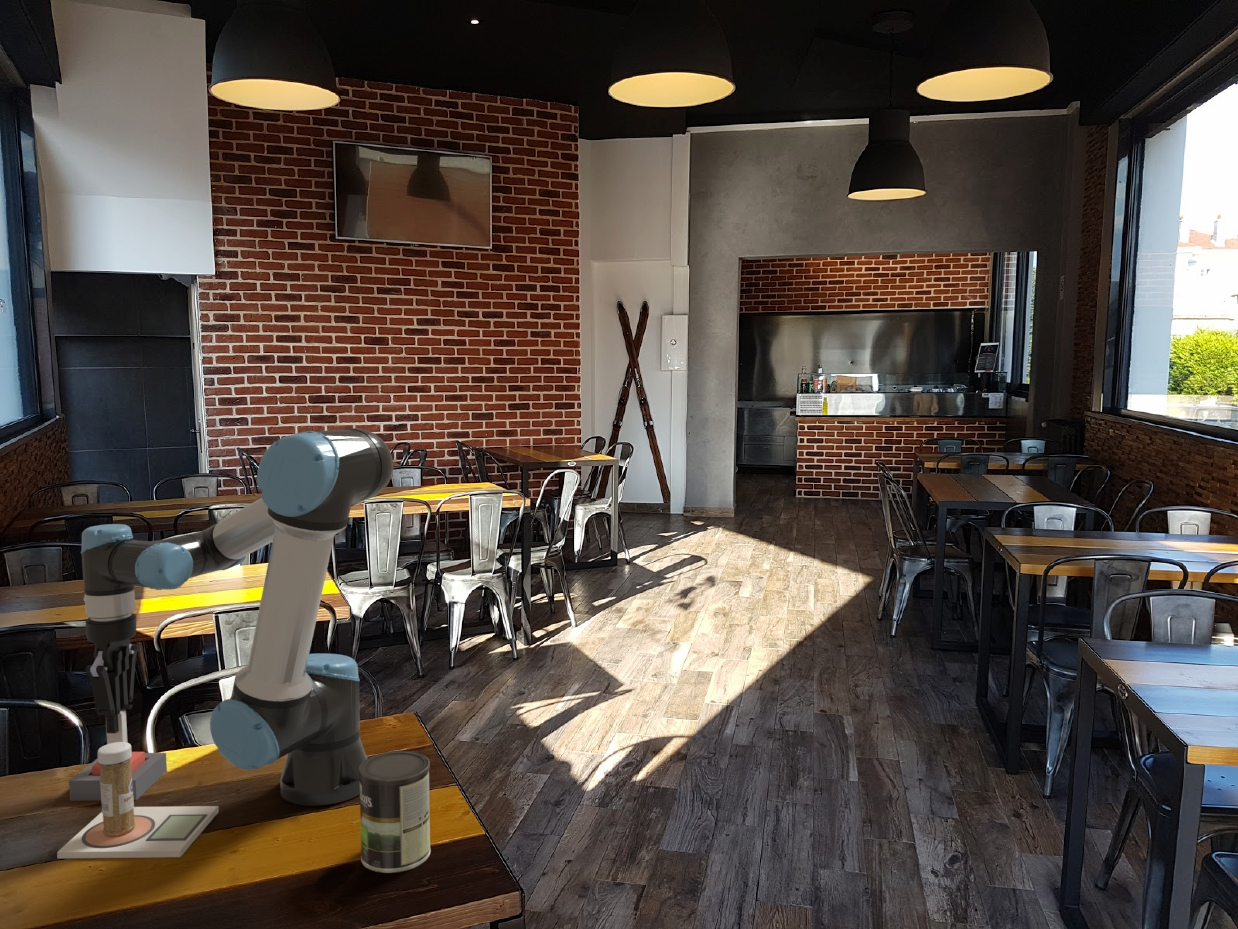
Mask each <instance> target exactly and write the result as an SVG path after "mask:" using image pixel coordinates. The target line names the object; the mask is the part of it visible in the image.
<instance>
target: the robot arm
mask: <svg viewBox="0 0 1238 929" xmlns="http://www.w3.org/2000/svg"><path fill="white" fill-rule="evenodd" d="M393 472H394V460H393V456H392V453H391V450H390V448H389V447H388V445H387V443H386V442H385V441H384V440H383V439H382V438H381V436H380V437H379V435H377V434H376V433H374V432H372V431H370V430H367V429H363V428H357V427H351V428H342V429H331V430H320V431H319V430H318V431H313V430H308V431H301V432H298V433H297V432H296V433H295V434H291V435H290V434H289V435H286V436H283V437H281V438H279V439H278V440H276V441H274V442H273V443H272V444H271V445H270V446H269V447H268V448H266V450H265V452H264V453H263V455H262V457H261V460H260V462H259V465H258V469H257V475H256V476H257V477H256V481H257V487H258V488H257V489H258V490H260V491H261V494H260V497H261V498H259V499H257V500H256V501H254V502H251V503H250V504H248V505H247V506H245V507H243V508H241V509H240V510H237V511H236V512H233V513H232V514H231V515H228V516H226V517H225V518H224V519H221V520H220V521H219V522H217V523H215V524H213V525H211V526H210V527H208V528H206V529H203V530H201V531H197V532H193V533H187V534H183V535H178V536H172V537H169V538H164V539H159V540H152V541H149V540H136V539H133V538H134V536H133V532H132V528H131V527H130V526H129V525H127V524H124V523H123V524H122V523H112V524H111V523H110V524H99V525H94V526H89V527H87V528H85V529H84V530H83V531H82V533H81V551H80V555H81V565H82V577H83V578H82V581H83V591H84V592H83V593H84V596H83V601H84V609H85V610H84V611H85V616H86V617H87V619H86V620H85V635H86V639H87V641H88V642H89V643H93V644H94V646H95V647H94V652H93V657H94V659H95V660H94V662H93V664H92V665H90V664H89V665H88V664H87V665H86V668H85V672H86V674H87V676H88V678H89V682H90V687H91V692H92V696H93V700H94V706H95V710H96V714H97V716H105V729H106V730H105V731H106V745H107V744H111V743H115V742H127V743H128V728H127V710H131V709H132V708H133V703H131V702H133V699H134V690H135V689H134V688H135V687H134V686H135V685H134V684H135V675H136V674H135V673H136V672H135V671H136V661H137V660H136V658H137V655H138V654H137V653H138V650H139V646H138V644H131V640H130V639H132V638H133V637H135V636H136V634H137V616H136V615H135V614H134V612H135V611H136V595H135V587H141V588H148V589H151V590H156V591H159V590H160V591H162V590H171V591H172V590H176V589H178V588H181V587H182V586H184V584H185V583H187V582H188V580H189V579H192V578H195V577H199V576H204V575H207V574H210V573H211V574H212V573H215V572H219V571H226V570H229V569H231V568H233V567H235V566H236V567H237V566H238V565H241V564H242V563H243V562H244V561H245V560H246V558H247V556H248V555H250V554H252V553H255V552H256V551H258V550H260V549H261V548H263V547H265V546H267V545H269V544H271V548H270V552H269V558H268V562H267V568H266V573H265V578H264V582H263V583H264V584H263V588H262V593H261V599H260V603H259V608H258V614H257V619H256V623H255V628H254V633H253V638H252V644H251V649H250V654H249V659H248V664H247V665H245V666H243V667H242V668H240V669H239V670H238V671H237V672H236V674H235V676H234V682H233V687H232V691H231V696H230V698H229V699H224V700H223V701H221V702H220V703H219V704H217V706H215V707H214V709H213V710H212V713H211V715H210V720H209V727H210V733H211V734H210V735H211V738H212V741H213V744H214V745H215V746H216V748H217V750H218V752H219V753H220V755H221V756H222V757H223V758H224V759H225V760H226V761H227V763H229V764H230V765H233V766H234V767H236V768H239V769H241V770H245V771H253V770H254V771H255V770H259V769H260V768H263V767H265V766H268V765H271V764H274V763H276V762H277V761H278V760H279V759H281V758H283V757H284V756H286V755H287V756H286V759H285V762H284V766H283V769H282V772H281V775H280V782H279V783H280V786H279V787H280V796H281V797H282V798H283V799H284V800H285V801H287V802H289V803H292V804H294V805H300V806H307V807H309V806H312V807H313V806H314V807H316V806H318V807H320V806H327V805H328V806H329V805H333V804H337V803H342V802H345V801H348V800H351V799H354V798H355V797H357V796H360V781H359V773H358V768H359V766H360V764H361V763H362V762H363V761H365V760H366V759H368V758H369V757H368V755H367V753H366V751H365V749H364V745H363V743H362V739H361V730H360V728H361V724H360V723H361V722H360V721H361V720H360V678H359V677H360V676H359V668H358V666H359V665H358V663H357V662H356V661H355V659H354V658H352V657H350V656H348V655H343V654H337V653H310V651H311V647H312V641H313V638H314V633H315V629H316V624H317V618H318V615H319V614H318V613H319V609H320V603H321V600H322V595H323V590H324V586H325V581H326V576H327V571H328V567H329V562H330V557H331V552H332V548H333V543H334V540H335V535H337V534H338V533H340V532H342V531H345V529H347V526H348V523H349V517H350V512H351V509H352V507H354V506H356V505H358V504H360V503H361V502H364V501H366V500H369V499H372V498H374V497H375V496H376V497H377V496H378V495H379V494H380V493H381V492H383V491H384V489H386V487H387V486H388V484H389V483H390V481H391V478H392V477H393V476H392V475H393Z"/></svg>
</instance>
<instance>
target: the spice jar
mask: <svg viewBox="0 0 1238 929" xmlns="http://www.w3.org/2000/svg"><path fill="white" fill-rule="evenodd" d="M132 752H133V751H132V745H131V743H129V742H128V741H127V742H115V743H111V744H107V743H106V744H105V745H102V746H101V747H99V748H98V749H97V758H98V762H99V765H100V779H101V780H100V788H101V800H100V801H101V802H100V803H101V812H102V814H103V825H104V828H103V833H104V834H105V835H107V836H119V835H123V834H126V833H128V832H130V831H131V830H133V829H134V828H135V826H136V823H135V821H134V807H135V802H134V801H135V800H134V799H133V784H132V774H131V756H132Z"/></svg>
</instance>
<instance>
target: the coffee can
mask: <svg viewBox="0 0 1238 929" xmlns="http://www.w3.org/2000/svg"><path fill="white" fill-rule="evenodd" d="M367 758H368V759H366V760H365V761H363V762H362V763H361V764H360V766H359V768H358V773H359V781H360V795H359V808H360V809H359V813H360V846H361V847H360V850H361V851H360V852H361V855H360V861H361V863H362V865H363V866H364V867H365V868H366V869H367V870H370V871H372V872H376V873H382V874H383V873H384V874H394V873H395V874H397V873H402V872H406V871H409V870H412V869H415V868H417V867H418V866H421V865H422V864H423V863H425V862H426V861H428V858H429V857H430V855H431V852H432V851H431V850H432V849H431V828H430V826H431V825H430V823H431V820H430V817H431V816H430V767H431V766H430V765H431V762H430V759H429V757H427V756H426V755H424V754H422V753H420V752H416V751H411V750H410V751H409V750H408V751H407V750H394V751H387V752H385V751H384V752H382V753H378V754H375V755H372V756H371V757H367Z"/></svg>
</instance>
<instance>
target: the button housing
mask: <svg viewBox="0 0 1238 929" xmlns="http://www.w3.org/2000/svg"><path fill="white" fill-rule="evenodd" d="M97 762H98V757H97V758H96V759H94V761H92V762H91V763H89V764H88V765H87V766H86V767H84V768H83V769H82V770H81V771H79V772H78V773H77V774H76V775H74V776H73V777H72V778H70V779H69V780H68V783H69V784H68V785H69V800H70V801H76V802H77V801H79V802H80V801H81V802H82V801H101V788H100V780H101V779H100V775H92V766H93V765H95V764H96V763H97ZM167 772H168V766H167V752H145V762H144V763H143V764H141V765H140V766H139V767H138V768H137V769H136V770H135V771H133V772H132V773H131V774H132V784H133V799H134V801H137V800H138V799H140V798H141V796H142V795H144V794H145V793H146V792H147V791H148V790H149V789H151V787H152V786H153V785H154V784H156V782H157V781H159V780H160V779H161V778H162V776H164V775H165V774H166V773H167Z"/></svg>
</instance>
